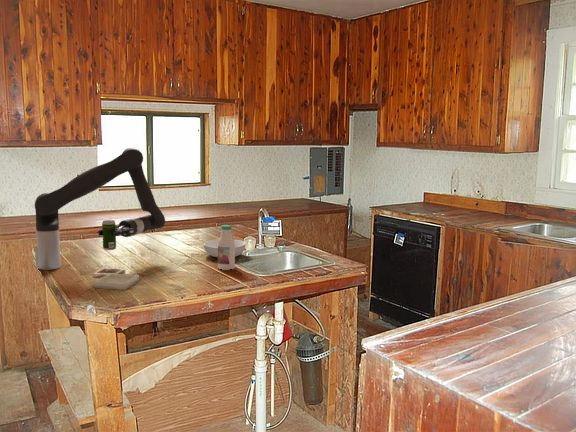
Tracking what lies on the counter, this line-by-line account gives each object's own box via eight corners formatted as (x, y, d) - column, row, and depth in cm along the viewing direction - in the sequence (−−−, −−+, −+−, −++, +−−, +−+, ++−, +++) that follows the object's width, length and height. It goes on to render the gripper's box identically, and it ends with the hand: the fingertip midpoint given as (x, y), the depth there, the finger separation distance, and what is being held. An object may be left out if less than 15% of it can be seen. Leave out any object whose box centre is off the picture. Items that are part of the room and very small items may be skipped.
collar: (92, 277, 231) (92, 273, 231) (103, 271, 241) (103, 267, 240) (114, 278, 229) (114, 275, 229) (125, 272, 239) (125, 269, 239)
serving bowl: (195, 256, 273) (195, 242, 271) (227, 250, 288) (227, 237, 287) (222, 263, 259) (222, 249, 257) (254, 256, 274) (254, 243, 273)
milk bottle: (227, 265, 255) (227, 223, 252) (238, 268, 250) (238, 225, 246) (214, 268, 250) (214, 225, 247) (224, 271, 244) (224, 227, 241)
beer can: (118, 249, 232) (117, 221, 230) (107, 251, 228) (106, 222, 226) (112, 246, 236) (111, 219, 234) (100, 248, 232) (99, 221, 230)
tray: (94, 287, 215) (94, 281, 215) (109, 279, 228) (109, 273, 228) (125, 290, 213) (125, 283, 213) (139, 281, 226) (139, 275, 226)
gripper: (118, 217, 246) (91, 223, 230) (144, 220, 240) (118, 226, 225) (118, 233, 247) (91, 240, 232) (144, 237, 241) (118, 244, 226)
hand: (104, 233), depth 228 cm, fingers closed on beer can, 5 cm apart
